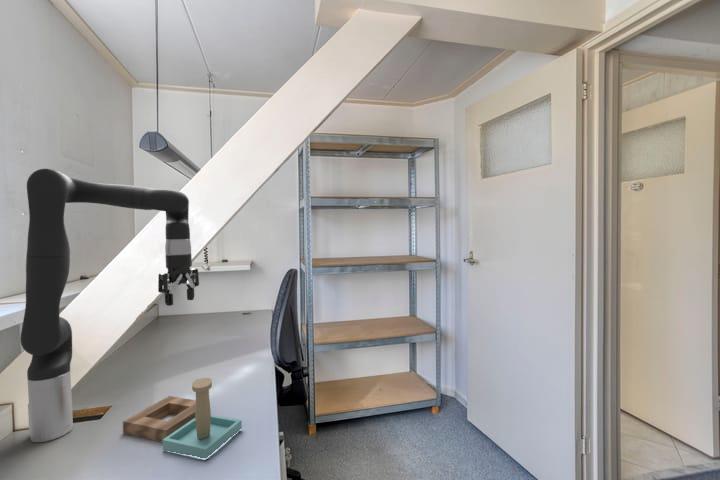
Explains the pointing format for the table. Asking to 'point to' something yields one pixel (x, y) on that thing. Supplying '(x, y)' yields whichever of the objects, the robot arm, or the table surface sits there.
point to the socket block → (149, 418)
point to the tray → (191, 445)
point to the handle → (202, 407)
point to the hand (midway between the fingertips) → (180, 302)
